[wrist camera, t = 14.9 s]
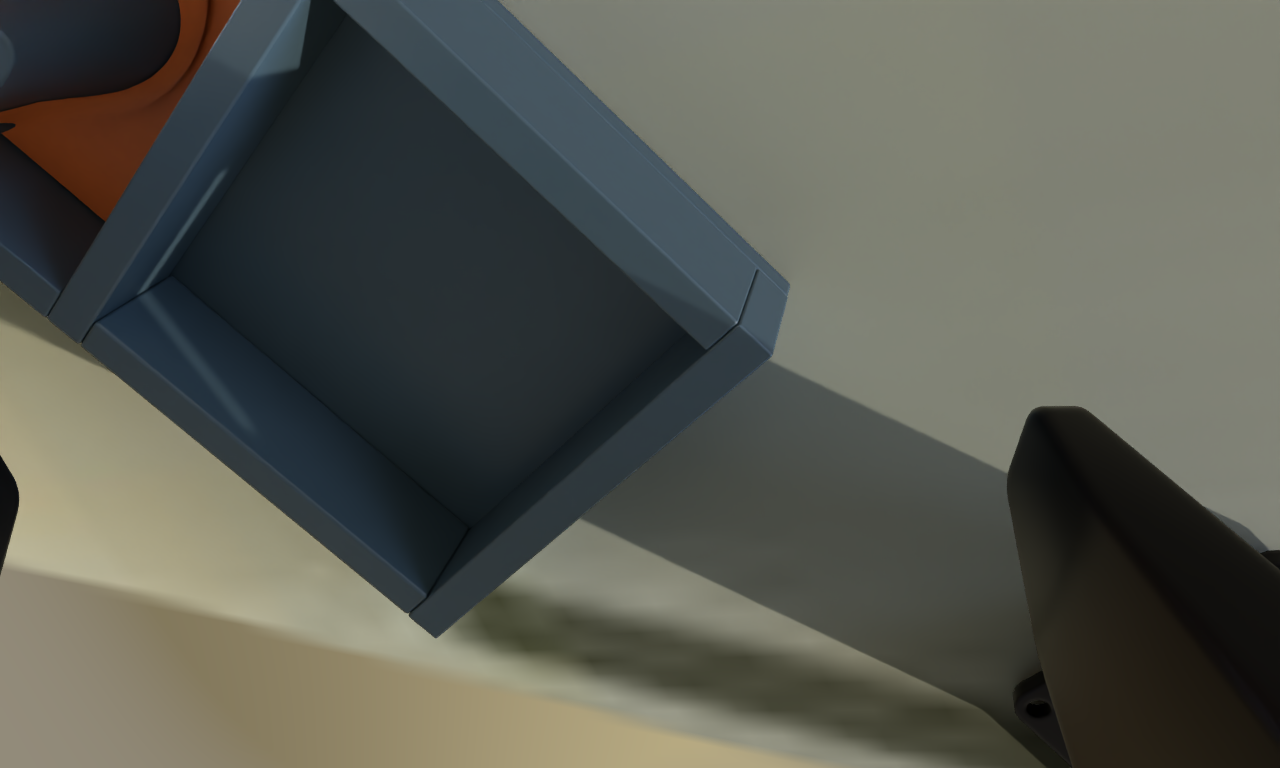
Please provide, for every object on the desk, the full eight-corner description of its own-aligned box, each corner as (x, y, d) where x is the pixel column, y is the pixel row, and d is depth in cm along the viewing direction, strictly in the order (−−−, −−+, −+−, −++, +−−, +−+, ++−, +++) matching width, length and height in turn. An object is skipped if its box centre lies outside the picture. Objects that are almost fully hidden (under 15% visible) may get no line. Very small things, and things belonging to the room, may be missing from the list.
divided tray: (792, 284, 20) (773, 356, 17) (486, 552, 25) (435, 639, 22) (-61, -544, 17) (-244, -610, 14) (-220, -48, 22) (-378, -29, 19)
